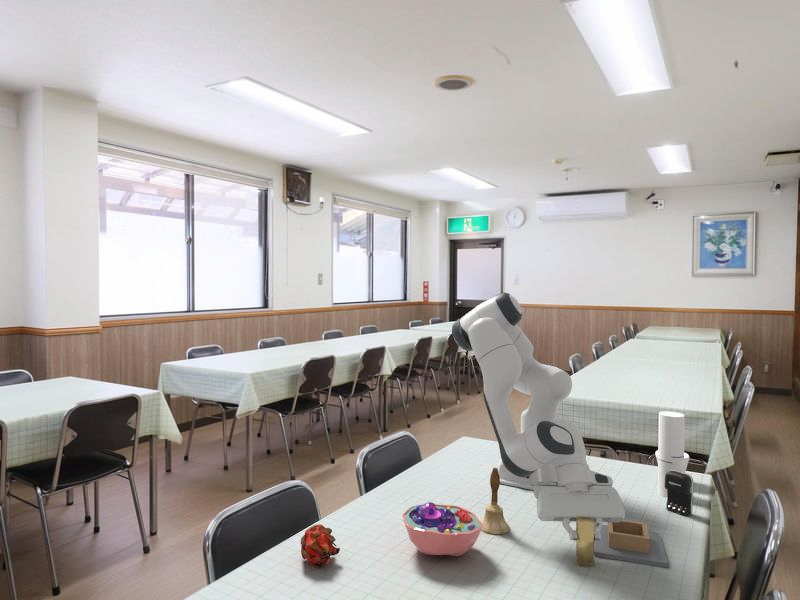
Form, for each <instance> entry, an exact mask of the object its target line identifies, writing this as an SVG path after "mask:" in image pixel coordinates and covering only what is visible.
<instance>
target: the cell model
mask: <svg viewBox="0 0 800 600" xmlns="http://www.w3.org/2000/svg"><path fill="white" fill-rule="evenodd" d="M401 517H402V521H403V524H404V527H405V528H406V532H407V535H408V537H409V540H410V542H411V543H412V544H413V545H414V547H415V548H416V549H417V550H418V551H419V552H420V553H421V554H425V555H428V556H449V557H450V556H451V557H460V556H462V555H463V554H465V553H466V552H468V551H470V550H471V549H472V547H473V546H474V545H475V544H476V542H477V540H478V538H479V537H480V533H481V531H482V530H481V529H482V523H481V520H480V519H479V517H477V516H476V514H475V513H474V512H472V511H470V510H468V509H466V508H464V507H462V506H460V505H452V504H451V505H450V504H437V503H434V502H430V501H428V502H425V503H423V504H422V503H421V504H417V505H413V506H411V507H409V508H407V509H406V510H405V511H404V512H403V513H402V515H401Z"/></svg>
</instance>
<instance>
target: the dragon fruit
mask: <svg viewBox="0 0 800 600" xmlns="http://www.w3.org/2000/svg"><path fill="white" fill-rule="evenodd" d="M332 532H333V530H332V529H331V527H325V526H324V524H321V523H319V524H314V525H311V527H308V528H307V529H306V530H305V531H304V535H302V536H301V537H300V546H301V550H300V554H301V557H302V559H303V560H307V561H308V562H309V564H310V565H311V566H312V567H313V568H318V569H320V568H321V567H320V565H321V564H325V565H328V564H329V563H330V562H331V556H337V555H338V554H339V553H340V552H341V551H340V550H341V548H340V547H337V544H335V543H334V542H335V541H336V540H337V539H336V537H334V535H332Z"/></svg>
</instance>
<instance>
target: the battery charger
mask: <svg viewBox="0 0 800 600" xmlns="http://www.w3.org/2000/svg"><path fill="white" fill-rule="evenodd" d="M665 489H667V497H666V498H667V499H666V505H665V506H666V508H665V509H667V510H668V511H671V512H674V513H675V514H678V515H681V516H687V517H688V516H691V515H693V500H694V479H693V476H692V475H690V474H689V473H686V472H685V473H684V472H680V471H677V470H671V471H669V472H667V473H666V475H665Z"/></svg>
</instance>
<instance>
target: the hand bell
mask: <svg viewBox="0 0 800 600" xmlns="http://www.w3.org/2000/svg"><path fill="white" fill-rule="evenodd" d="M491 472H492V473H491ZM491 472H490V478H489V483H490V489H491V497H490V504H488V505H486V507H485V511H484V516H483V518H482V519H481V520H480V522H481V523H482V529H481V531H482V532H483V533H485V534H486V533H487V534H491V535H503V534H507V533H508V532H509V531H510V530H511V527H510V524H508V523H507V521H506V520H505V516H504V509H503V507H502V506H500V505H499V504H498V499H499V498H498V492H499V488H500V485H501V484H500V476H499V473H498V469H497V467H493V468H492V470H491Z"/></svg>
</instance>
